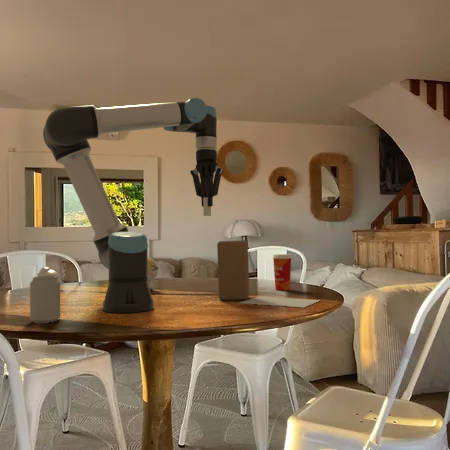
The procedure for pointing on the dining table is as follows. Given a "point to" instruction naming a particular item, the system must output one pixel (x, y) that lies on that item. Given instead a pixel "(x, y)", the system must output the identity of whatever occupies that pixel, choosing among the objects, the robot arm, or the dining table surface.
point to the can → (44, 299)
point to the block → (233, 270)
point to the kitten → (151, 272)
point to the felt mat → (280, 301)
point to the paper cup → (282, 271)
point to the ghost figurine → (48, 273)
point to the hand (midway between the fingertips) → (207, 215)
